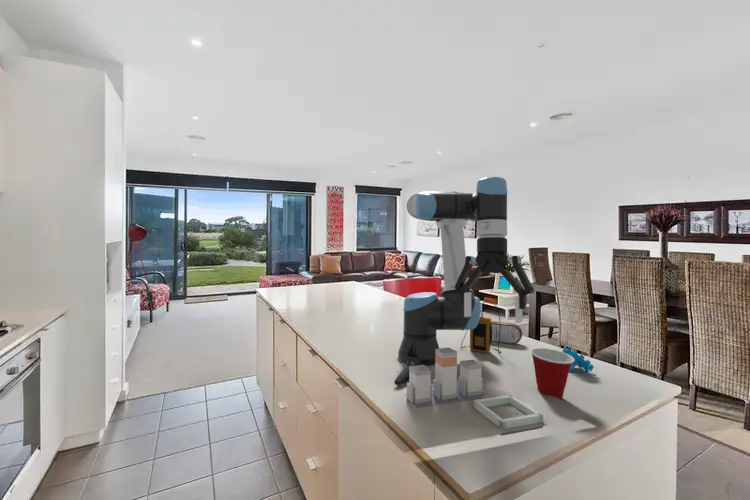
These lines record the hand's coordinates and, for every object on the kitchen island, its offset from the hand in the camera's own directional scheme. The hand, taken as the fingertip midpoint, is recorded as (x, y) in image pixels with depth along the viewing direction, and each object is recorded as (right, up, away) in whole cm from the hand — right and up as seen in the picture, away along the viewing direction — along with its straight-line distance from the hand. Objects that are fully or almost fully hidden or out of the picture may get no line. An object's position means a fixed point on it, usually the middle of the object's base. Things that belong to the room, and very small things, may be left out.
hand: (492, 319), depth 93 cm
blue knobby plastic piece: (+36, -22, +26) cm, 49 cm away
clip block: (-12, -22, +2) cm, 25 cm away
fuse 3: (-5, -20, +4) cm, 21 cm away
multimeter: (+12, -21, +48) cm, 54 cm away
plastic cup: (+18, -22, +5) cm, 29 cm away
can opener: (-20, -22, +14) cm, 33 cm away
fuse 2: (-12, -20, +2) cm, 24 cm away
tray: (+1, -22, -8) cm, 24 cm away
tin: (+23, -21, +57) cm, 65 cm away
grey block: (-19, -20, -1) cm, 28 cm away
